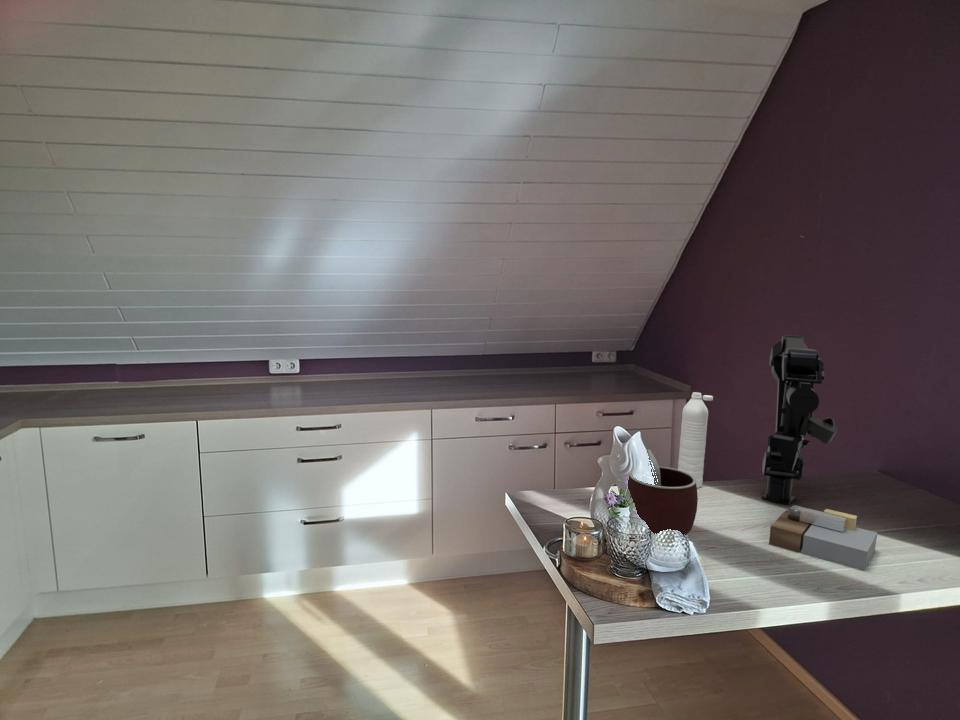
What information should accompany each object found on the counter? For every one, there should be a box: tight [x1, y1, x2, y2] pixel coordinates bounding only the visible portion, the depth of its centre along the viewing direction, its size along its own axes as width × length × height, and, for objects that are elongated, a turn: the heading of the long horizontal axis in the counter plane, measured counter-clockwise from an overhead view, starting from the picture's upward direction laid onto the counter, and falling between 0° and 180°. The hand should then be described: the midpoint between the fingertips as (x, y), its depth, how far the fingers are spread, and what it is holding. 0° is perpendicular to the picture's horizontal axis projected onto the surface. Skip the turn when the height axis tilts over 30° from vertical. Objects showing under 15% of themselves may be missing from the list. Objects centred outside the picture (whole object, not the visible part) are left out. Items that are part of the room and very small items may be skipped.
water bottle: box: [677, 391, 714, 489], centre depth 173 cm, size 9×6×25 cm
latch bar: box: [787, 504, 847, 532], centre depth 142 cm, size 11×3×2 cm, turn 51°
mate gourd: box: [627, 449, 699, 536], centre depth 132 cm, size 16×14×20 cm
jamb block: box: [768, 509, 812, 553], centre depth 144 cm, size 12×6×4 cm, turn 141°
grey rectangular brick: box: [801, 508, 878, 572], centre depth 138 cm, size 12×12×7 cm
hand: (789, 470), depth 152 cm, fingers closed
